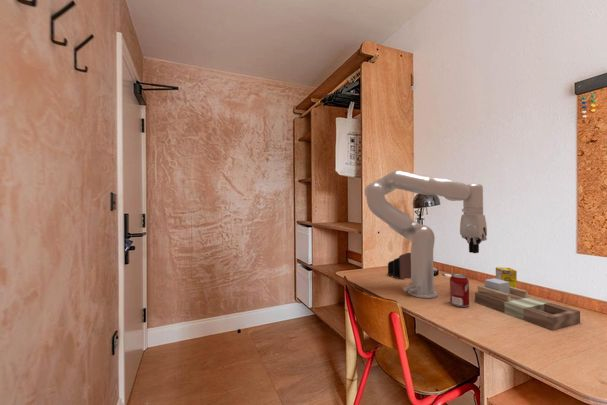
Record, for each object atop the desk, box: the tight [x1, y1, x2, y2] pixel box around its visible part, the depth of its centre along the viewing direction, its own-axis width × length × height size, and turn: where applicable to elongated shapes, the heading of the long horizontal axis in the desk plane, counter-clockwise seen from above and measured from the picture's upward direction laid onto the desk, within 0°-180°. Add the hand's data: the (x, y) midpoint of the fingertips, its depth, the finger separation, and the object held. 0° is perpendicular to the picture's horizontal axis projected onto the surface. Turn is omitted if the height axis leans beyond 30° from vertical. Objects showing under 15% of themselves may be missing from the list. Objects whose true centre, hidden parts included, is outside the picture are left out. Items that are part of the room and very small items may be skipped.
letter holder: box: [387, 252, 411, 280], centre depth 155 cm, size 10×20×14 cm, turn 115°
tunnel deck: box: [474, 285, 581, 331], centre depth 103 cm, size 15×27×6 cm, turn 20°
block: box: [484, 277, 510, 294], centre depth 112 cm, size 6×6×5 cm
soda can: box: [449, 273, 470, 308], centre depth 110 cm, size 7×7×12 cm
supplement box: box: [495, 266, 518, 288], centre depth 124 cm, size 6×6×11 cm
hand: (473, 252), depth 121 cm, fingers closed
